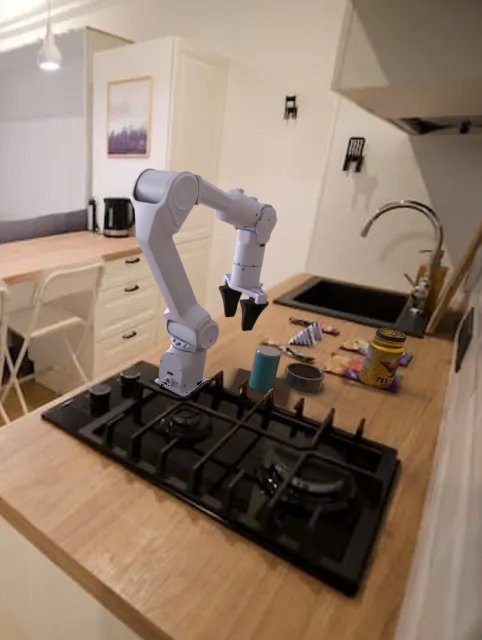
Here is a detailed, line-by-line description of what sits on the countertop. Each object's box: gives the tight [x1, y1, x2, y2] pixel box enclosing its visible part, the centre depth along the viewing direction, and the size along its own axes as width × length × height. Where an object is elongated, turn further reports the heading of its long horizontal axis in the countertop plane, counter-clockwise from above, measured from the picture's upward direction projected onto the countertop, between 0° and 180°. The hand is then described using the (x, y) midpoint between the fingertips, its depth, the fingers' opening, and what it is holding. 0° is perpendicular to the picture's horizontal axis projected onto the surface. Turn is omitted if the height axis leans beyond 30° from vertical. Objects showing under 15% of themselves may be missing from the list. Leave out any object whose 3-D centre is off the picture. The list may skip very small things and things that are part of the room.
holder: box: [282, 361, 326, 393], centre depth 86 cm, size 7×7×4 cm
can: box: [249, 345, 282, 392], centre depth 83 cm, size 5×5×8 cm
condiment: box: [358, 327, 407, 389], centre depth 86 cm, size 7×8×12 cm
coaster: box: [228, 368, 291, 408], centre depth 85 cm, size 11×11×1 cm
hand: (237, 323), depth 90 cm, fingers open, 7 cm apart
